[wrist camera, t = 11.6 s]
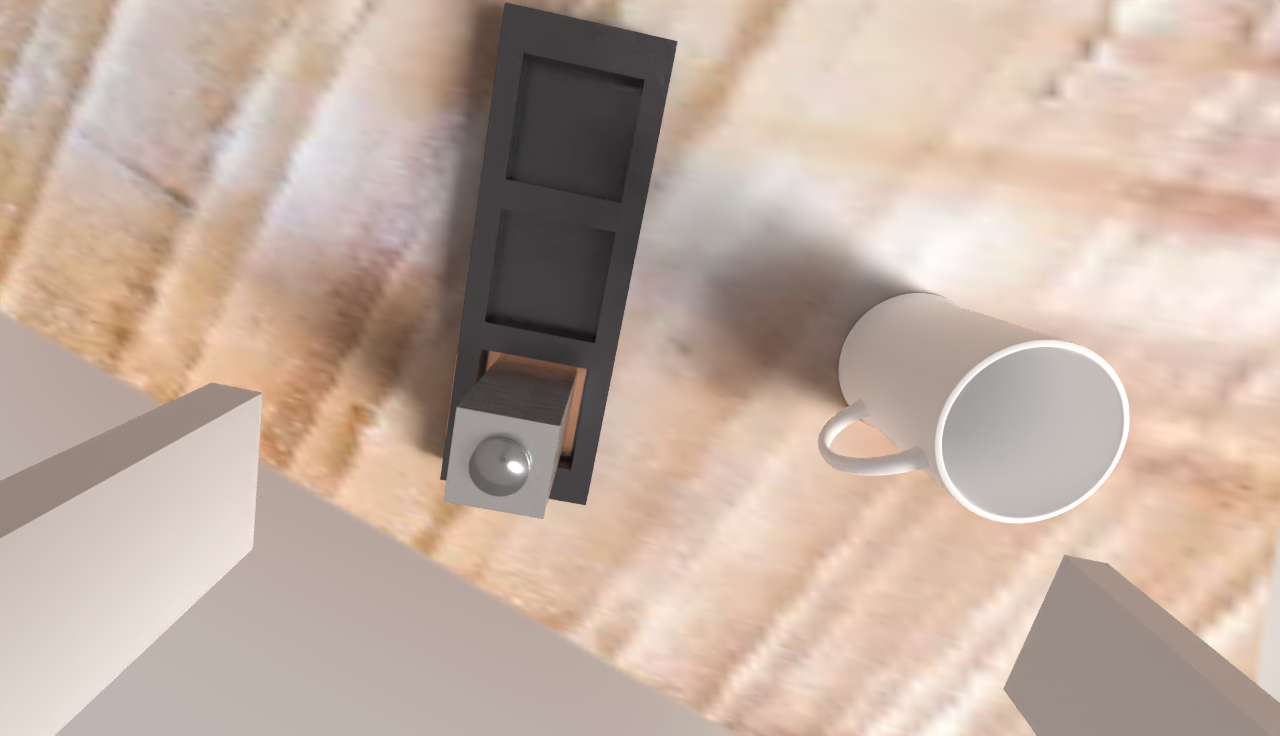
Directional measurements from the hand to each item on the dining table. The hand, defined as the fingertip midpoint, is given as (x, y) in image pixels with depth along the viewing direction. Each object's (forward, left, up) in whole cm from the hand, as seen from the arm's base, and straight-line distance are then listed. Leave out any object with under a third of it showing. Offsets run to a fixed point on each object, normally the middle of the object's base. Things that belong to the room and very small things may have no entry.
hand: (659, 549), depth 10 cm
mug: (+1, +15, -28) cm, 31 cm away
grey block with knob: (+7, -5, -26) cm, 27 cm away
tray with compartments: (-1, -5, -27) cm, 28 cm away
